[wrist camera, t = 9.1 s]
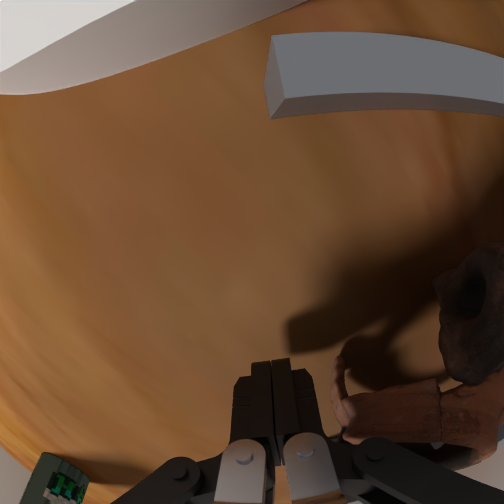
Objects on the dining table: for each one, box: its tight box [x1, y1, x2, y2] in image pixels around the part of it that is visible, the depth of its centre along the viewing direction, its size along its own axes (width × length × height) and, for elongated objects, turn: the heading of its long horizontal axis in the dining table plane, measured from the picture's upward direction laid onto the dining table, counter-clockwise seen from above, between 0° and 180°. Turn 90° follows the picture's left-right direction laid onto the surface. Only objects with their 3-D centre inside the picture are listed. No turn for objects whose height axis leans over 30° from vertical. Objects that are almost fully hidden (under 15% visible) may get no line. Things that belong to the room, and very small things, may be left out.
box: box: [264, 32, 504, 504], centre depth 9 cm, size 15×20×5 cm
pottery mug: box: [330, 241, 504, 471], centre depth 10 cm, size 12×10×8 cm
